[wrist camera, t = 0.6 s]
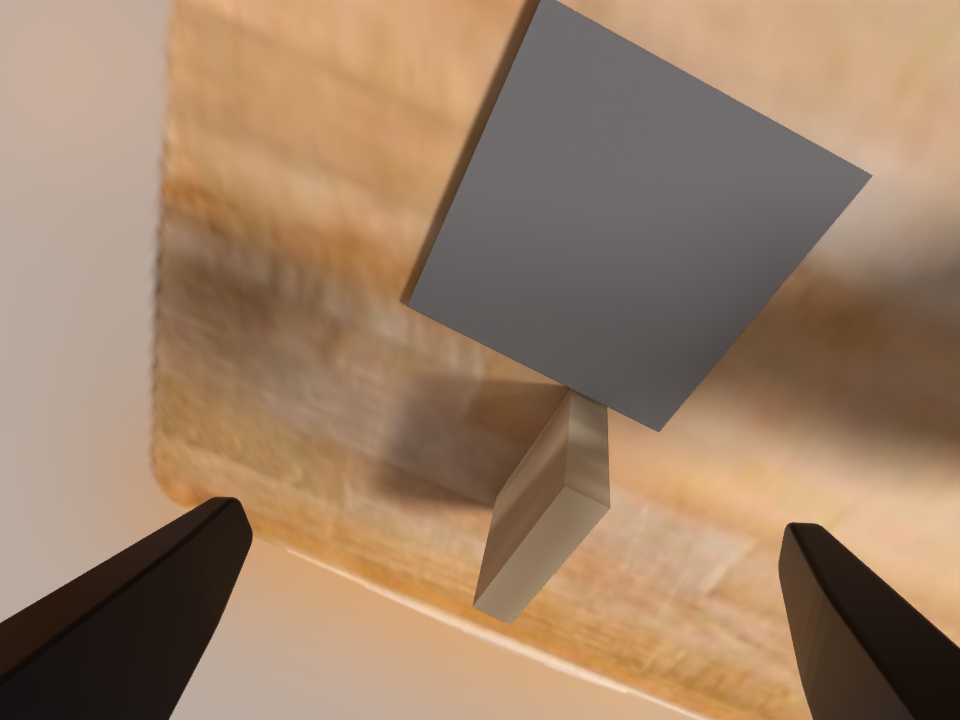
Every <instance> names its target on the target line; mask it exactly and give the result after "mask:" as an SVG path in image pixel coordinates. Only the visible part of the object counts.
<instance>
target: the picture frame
mask: <svg viewBox="0 0 960 720" xmlns="http://www.w3.org/2000/svg"><path fill="white" fill-rule="evenodd" d="M609 509H610V487H609V454H608V421H607V406H605V405H603V404H601V403H599V402H597V401H595V400H593V399H591V398H589V397H587V396H585V395H583V394H581V393H579V392H577V391H575V390H573V389H571V388H570V390H569V391H568V392H567V394H566V395H565V397H564V398H563V400H562V401H561V403H560V404H559V406H558V407H557V409H556V410H555V412H554V413H553V415H552V416H551V417H550V419H549V420H548V422H547V423H546V425H545V426H544V428H543V429H542V431H541V432H540V434H539V435H538V437H537V438H536V440H535V441H534V442H533V444H532V445H531V447H530V448H529V450H528V451H527V453H526V454H525V456H524V457H523V459H522V460H521V462H520V463H519V465H518V466H517V467H516V469H515V470H514V472H513V473H512V475H511V476H510V478H509V479H508V481H507V482H506V484H505V485H504V487H503V488H502V490H501V491H500V492H499V494H498V495H497V497H496V501H495V506H494V511H493V515H492V520H491V524H490V529H489V534H488V538H487V543H486V547H485V552H484V556H483V561H482V566H481V570H480V575H479V579H478V584H477V588H476V593H475V598H474V602H473V608H476V609H478V610H480V611H482V612H484V613H486V614H488V615H491V616H493V617H495V618H497V619H499V620H501V621H503V622H506V623H508V624H510V625H511V624H512V623H513V622H514V620H515V619H516V618H517V617H518V616H519V615H520V613H521V612H522V611H523V610H524V609H525V607H526V606H527V605H528V604H529V603H530V602H531V600H532V599H533V598H534V597H535V596H536V595H537V593H538V592H539V591H540V590H541V589H542V588H543V586H544V585H545V584H546V583H547V582H548V581H549V579H550V578H551V577H552V576H553V575H554V574H555V572H556V571H557V570H558V569H559V568H560V567H561V565H562V564H563V563H564V562H565V561H566V559H567V558H568V557H569V556H570V555H571V554H572V552H573V551H574V550H575V549H576V548H577V547H578V545H579V544H580V543H581V542H582V541H583V540H584V538H585V537H586V536H587V535H588V534H589V533H590V531H591V530H592V529H593V528H594V527H595V526H596V524H597V523H598V522H599V521H600V520H601V519H602V517H603V516H604V515H605V514H606V513H607V511H608V510H609Z"/></svg>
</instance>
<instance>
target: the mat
mask: <svg viewBox="0 0 960 720" xmlns="http://www.w3.org/2000/svg"><path fill="white" fill-rule="evenodd" d="M872 176H873V175H871V174H869V173H867V172H865V171H864V170H862V169H860V168H858V167H856V166H855V165H853V164H851V163H849V162H847V161H846V160H844V159H842V158H840V157H838V156H837V155H835V154H833V153H831V152H829V151H827V150H826V149H824V148H822V147H820V146H818V145H817V144H815V143H813V142H811V141H809V140H808V139H806V138H804V137H802V136H800V135H799V134H797V133H795V132H793V131H791V130H789V129H788V128H786V127H784V126H782V125H780V124H779V123H777V122H775V121H773V120H771V119H770V118H768V117H766V116H764V115H762V114H761V113H759V112H757V111H755V110H753V109H751V108H750V107H748V106H746V105H744V104H742V103H741V102H739V101H737V100H735V99H733V98H732V97H730V96H728V95H726V94H724V93H723V92H721V91H719V90H717V89H715V88H713V87H712V86H710V85H708V84H706V83H704V82H703V81H701V80H699V79H697V78H695V77H694V76H692V75H690V74H688V73H686V72H685V71H683V70H681V69H679V68H677V67H675V66H674V65H672V64H670V63H668V62H666V61H665V60H663V59H661V58H659V57H657V56H656V55H654V54H652V53H650V52H648V51H647V50H645V49H643V48H641V47H639V46H638V45H636V44H634V43H632V42H630V41H628V40H627V39H625V38H623V37H621V36H619V35H618V34H616V33H614V32H612V31H610V30H609V29H607V28H605V27H603V26H601V25H600V24H598V23H596V22H594V21H592V20H590V19H589V18H587V17H585V16H583V15H581V14H580V13H578V12H576V11H574V10H572V9H571V8H569V7H567V6H565V5H563V4H562V3H560V2H558V1H556V0H541V1H540V3H539V5H538V7H537V10H536V12H535V14H534V17H533V19H532V21H531V24H530V26H529V28H528V30H527V33H526V35H525V37H524V40H523V42H522V44H521V46H520V49H519V51H518V53H517V56H516V58H515V60H514V62H513V65H512V67H511V69H510V72H509V74H508V76H507V79H506V81H505V83H504V85H503V88H502V90H501V92H500V95H499V97H498V99H497V101H496V104H495V106H494V108H493V111H492V113H491V115H490V118H489V120H488V122H487V124H486V127H485V129H484V131H483V134H482V136H481V138H480V140H479V143H478V145H477V147H476V150H475V152H474V154H473V157H472V159H471V161H470V163H469V166H468V168H467V170H466V173H465V175H464V177H463V179H462V182H461V184H460V186H459V189H458V191H457V193H456V195H455V198H454V200H453V202H452V205H451V207H450V209H449V212H448V214H447V216H446V218H445V221H444V223H443V225H442V228H441V230H440V232H439V234H438V237H437V239H436V241H435V244H434V246H433V248H432V251H431V253H430V255H429V257H428V260H427V262H426V264H425V267H424V269H423V271H422V273H421V276H420V278H419V280H418V283H417V285H416V287H415V290H414V292H413V294H412V296H411V299H410V301H409V303H408V307H410V308H412V309H414V310H416V311H418V312H420V313H422V314H424V315H426V316H428V317H430V318H432V319H434V320H436V321H438V322H440V323H442V324H444V325H446V326H448V327H450V328H452V329H454V330H456V331H458V332H460V333H462V334H464V335H466V336H468V337H470V338H472V339H474V340H476V341H478V342H480V343H482V344H484V345H486V346H488V347H490V348H492V349H494V350H496V351H498V352H500V353H502V354H504V355H506V356H508V357H510V358H512V359H514V360H516V361H518V362H520V363H522V364H524V365H526V366H528V367H530V368H532V369H534V370H536V371H538V372H540V373H542V374H544V375H546V376H548V377H550V378H552V379H554V380H556V381H558V382H560V383H561V384H563V385H565V386H567V387H569V388H571V389H573V390H575V391H577V392H579V393H581V394H583V395H585V396H587V397H589V398H591V399H593V400H595V401H597V402H599V403H601V404H603V405H605V406H607V407H609V408H611V409H613V410H615V411H617V412H619V413H621V414H623V415H625V416H627V417H629V418H631V419H633V420H635V421H637V422H639V423H641V424H643V425H645V426H647V427H649V428H651V429H653V430H655V431H657V432H659V431H660V430H661V429H662V428H663V427H664V426H665V424H666V423H667V422H668V421H669V420H670V418H671V417H672V416H673V415H674V414H675V412H676V411H677V410H678V409H679V408H680V406H681V405H682V404H683V403H684V402H685V400H686V399H687V398H688V397H689V396H690V394H691V393H692V392H693V391H694V390H695V388H696V387H697V386H698V385H699V384H700V382H701V381H702V380H703V379H704V378H705V376H706V375H707V374H708V373H709V372H710V370H711V369H712V368H713V367H714V366H715V364H716V363H717V362H718V361H719V360H720V358H721V357H722V356H723V355H724V354H725V352H726V351H727V350H728V349H729V348H730V346H731V345H732V344H733V343H734V342H735V340H736V339H737V338H738V337H739V336H740V334H741V333H742V332H743V331H744V330H745V328H746V327H747V326H748V325H749V324H750V322H751V321H752V320H753V319H754V318H755V316H756V315H757V314H758V313H759V312H760V310H761V309H762V308H763V307H764V306H765V304H766V303H767V302H768V301H769V300H770V298H771V297H772V296H773V295H774V294H775V292H776V291H777V290H778V289H779V288H780V286H781V285H782V284H783V283H784V282H785V280H786V279H787V278H788V277H789V276H790V274H791V273H792V272H793V271H794V270H795V268H796V267H797V266H798V265H799V264H800V262H801V261H802V260H803V259H804V258H805V256H806V255H807V254H808V253H809V252H810V250H811V249H812V248H813V247H814V246H815V244H816V243H817V242H818V241H819V240H820V238H821V237H822V236H823V235H824V234H825V232H826V231H827V230H828V229H829V228H830V226H831V225H832V224H833V223H834V222H835V220H836V219H837V218H838V217H839V216H840V214H841V213H842V212H843V211H844V210H845V208H846V207H847V206H848V205H849V204H850V202H851V201H852V200H853V199H854V198H855V196H856V195H857V194H858V193H859V192H860V190H861V189H862V188H863V187H864V186H865V184H866V183H867V182H868V181H869V180H870V178H871V177H872Z"/></svg>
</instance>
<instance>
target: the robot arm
mask: <svg viewBox="0 0 960 720" xmlns="http://www.w3.org/2000/svg"><path fill="white" fill-rule="evenodd" d="M252 537H253V534H252V529H251V526H250V524H249V521H248V519H247V516H246V514H245V512H244V509H243V507H242V504H241V502H240V501H239V500H238V499H237V498H234V497H214V498H211V499H210V500H208V501H206V502H204V503H203V504H201V505H199V506H198V507H196V508H194V509H193V510H191V511H189V512H187V513H186V514H184V515H182V516H181V517H179V518H177V519H176V520H174V521H172V522H171V523H169V524H167V525H165V526H164V527H162V528H160V529H159V530H157V531H155V532H154V533H152V534H150V535H149V536H147V537H145V538H143V539H142V540H140V541H138V542H137V543H135V544H133V545H132V546H130V547H128V548H126V549H125V550H123V551H121V552H120V553H118V554H116V555H115V556H113V557H111V558H110V559H108V560H106V561H104V562H103V563H101V564H99V565H98V566H96V567H94V568H93V569H91V570H89V571H87V572H86V573H84V574H83V575H81V576H79V577H77V578H76V579H74V580H72V581H71V582H69V583H67V584H66V585H64V586H62V587H60V588H59V589H57V590H55V591H54V592H52V593H50V594H49V595H47V596H45V597H43V598H42V599H40V600H38V601H37V602H35V603H33V604H32V605H30V606H28V607H26V608H25V609H23V610H21V611H20V612H18V613H16V614H15V615H13V616H12V617H10V618H8V619H6V620H4V621H3V622H1V623H0V720H169V718H170V716H171V714H172V713H173V710H174V709H175V707H176V705H177V703H178V701H179V699H180V697H181V695H182V693H183V692H184V690H185V687H186V686H187V684H188V682H189V680H190V678H191V676H192V674H193V672H194V670H195V669H196V667H197V664H198V663H199V661H200V659H201V657H202V655H203V653H204V651H205V649H206V647H207V645H208V644H209V642H210V640H211V638H212V636H213V634H214V632H215V630H216V628H217V626H218V624H219V621H220V619H221V616H222V614H223V612H224V610H225V607H226V605H227V603H228V600H229V598H230V595H231V593H232V590H233V588H234V585H235V583H236V581H237V578H238V575H239V573H240V571H241V568H242V566H243V563H244V561H245V559H246V556H247V553H248V551H249V549H250V546H251V543H252ZM778 568H779V578H780V583H781V588H782V593H783V598H784V602H785V607H786V612H787V617H788V622H789V626H790V631H791V636H792V641H793V645H794V650H795V655H796V660H797V665H798V669H799V673H800V678H801V682H802V686H803V689H804V692H805V696H806V699H807V702H808V705H809V708H810V711H811V714H812V717H813V720H960V648H959V647H958V646H957V645H956V644H955V643H954V642H952V641H951V640H950V639H949V638H948V637H947V636H946V635H945V634H943V633H942V632H941V631H940V630H939V629H938V628H937V627H935V626H934V625H933V624H932V623H931V622H930V621H929V620H928V619H926V618H925V617H924V616H923V615H922V614H921V613H920V612H918V611H917V610H916V609H915V608H914V607H913V606H912V605H911V604H909V603H908V602H907V601H906V600H905V599H904V598H903V597H901V596H900V595H899V594H898V593H897V592H896V591H895V590H894V589H892V588H891V587H890V586H889V585H888V584H887V583H886V582H884V581H883V580H882V579H881V578H880V577H879V576H878V575H877V574H875V573H874V572H873V571H872V570H871V569H870V568H869V567H868V566H866V565H865V564H864V563H863V562H862V561H861V560H860V559H858V558H857V557H856V556H855V555H854V554H853V553H852V552H851V551H849V550H848V549H847V548H846V547H845V546H844V545H843V544H841V543H840V542H839V541H838V540H837V539H836V538H835V537H834V536H832V535H831V534H830V533H829V532H828V531H827V530H826V529H824V528H823V527H822V526H820V525H818V524H815V523H795V522H792V523H789V524H787V526H786V528H785V531H784V536H783V541H782V547H781V552H780V558H779V567H778Z"/></svg>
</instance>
